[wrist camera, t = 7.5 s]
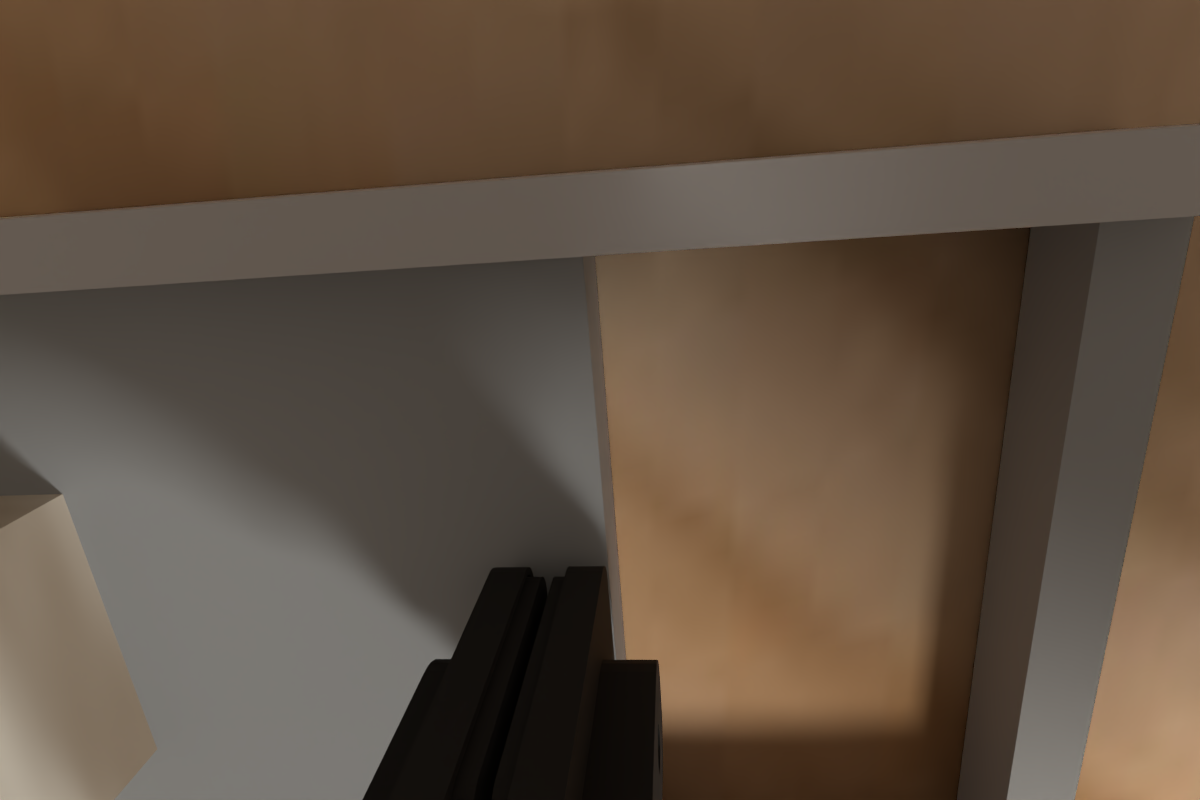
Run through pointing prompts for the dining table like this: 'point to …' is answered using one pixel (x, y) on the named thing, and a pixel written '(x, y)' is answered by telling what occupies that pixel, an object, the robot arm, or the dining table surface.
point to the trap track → (527, 425)
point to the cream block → (60, 666)
